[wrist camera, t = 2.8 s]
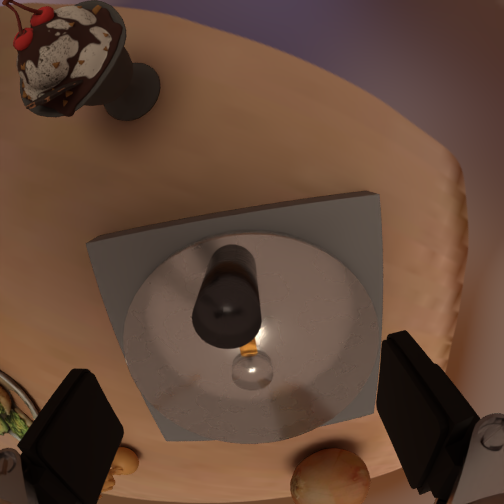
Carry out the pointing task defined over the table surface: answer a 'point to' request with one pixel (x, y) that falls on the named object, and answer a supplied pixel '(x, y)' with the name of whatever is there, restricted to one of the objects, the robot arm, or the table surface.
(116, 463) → the figurine
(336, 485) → the onion
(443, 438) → the robot arm
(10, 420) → the avocado toast plate
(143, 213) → the table surface
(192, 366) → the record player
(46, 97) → the sundae
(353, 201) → the instrument base
